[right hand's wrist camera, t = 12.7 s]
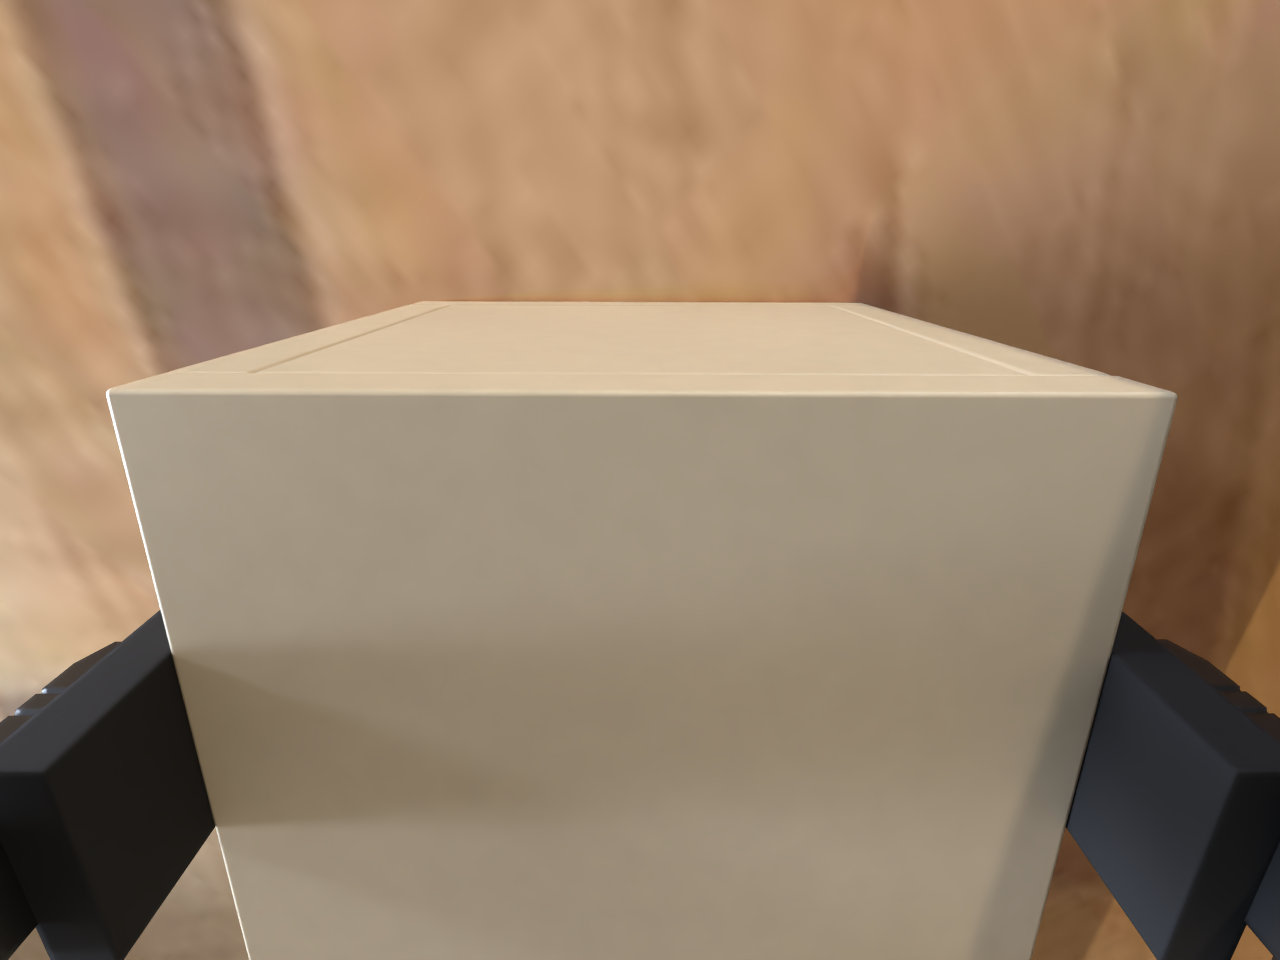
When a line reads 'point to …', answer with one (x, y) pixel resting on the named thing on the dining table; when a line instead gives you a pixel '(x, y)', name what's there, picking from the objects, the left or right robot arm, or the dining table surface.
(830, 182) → the dining table surface
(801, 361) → the cabinet
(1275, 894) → the right robot arm
